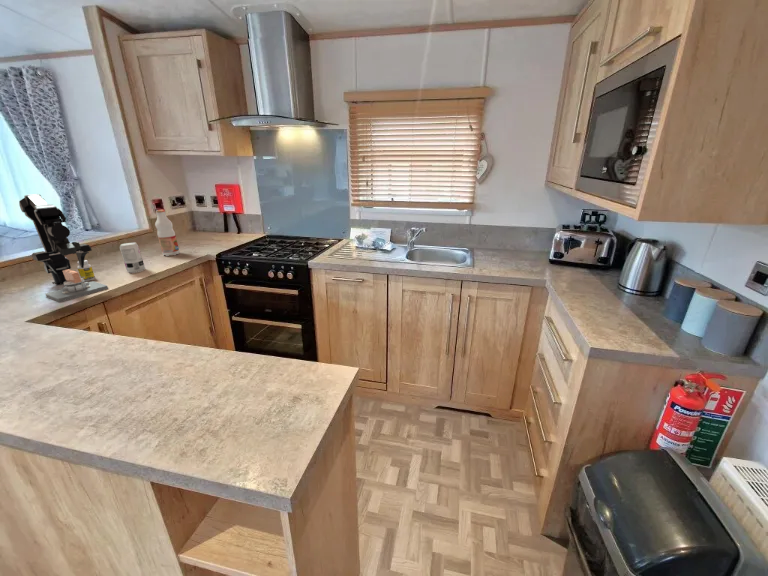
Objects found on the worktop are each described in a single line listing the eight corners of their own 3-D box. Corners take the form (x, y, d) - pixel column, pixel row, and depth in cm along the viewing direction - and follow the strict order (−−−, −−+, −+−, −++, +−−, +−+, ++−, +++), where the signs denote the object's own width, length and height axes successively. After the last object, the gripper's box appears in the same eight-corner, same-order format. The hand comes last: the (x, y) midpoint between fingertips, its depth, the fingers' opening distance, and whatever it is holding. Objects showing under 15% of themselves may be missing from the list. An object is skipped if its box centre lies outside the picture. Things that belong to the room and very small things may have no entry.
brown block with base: (68, 294, 147) (61, 276, 144) (59, 290, 152) (52, 272, 149) (93, 287, 155) (87, 270, 151) (84, 284, 159) (77, 267, 156)
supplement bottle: (87, 281, 168) (80, 262, 164) (79, 281, 169) (72, 262, 165) (98, 278, 173) (91, 259, 169) (89, 277, 174) (83, 259, 170)
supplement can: (123, 272, 181) (115, 245, 176) (139, 267, 188) (131, 241, 183) (133, 273, 178) (125, 246, 173) (148, 269, 185) (141, 242, 180)
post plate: (46, 296, 150) (42, 288, 148) (94, 284, 164) (91, 276, 163) (59, 302, 143) (56, 293, 142) (108, 288, 158) (105, 280, 156)
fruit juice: (161, 254, 215) (149, 210, 204) (177, 251, 221) (166, 208, 211) (165, 257, 208) (153, 211, 198) (181, 254, 214) (170, 209, 204)
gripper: (35, 242, 133) (50, 279, 138) (91, 233, 148) (103, 267, 154) (24, 240, 138) (39, 275, 144) (80, 231, 153) (91, 264, 159)
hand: (69, 270), depth 150 cm, fingers open, 9 cm apart
